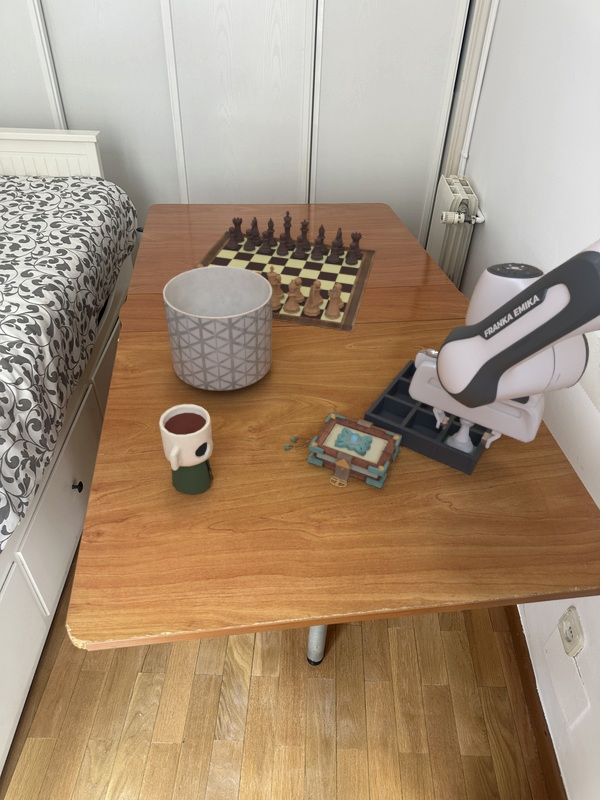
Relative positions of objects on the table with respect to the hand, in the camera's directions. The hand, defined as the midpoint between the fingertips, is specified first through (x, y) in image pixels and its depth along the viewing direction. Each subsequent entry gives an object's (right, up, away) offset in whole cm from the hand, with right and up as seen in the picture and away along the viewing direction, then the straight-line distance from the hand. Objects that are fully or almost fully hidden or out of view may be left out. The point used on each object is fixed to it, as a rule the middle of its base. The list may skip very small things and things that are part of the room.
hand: (462, 435), depth 88 cm
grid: (-2, +2, +9) cm, 10 cm away
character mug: (-43, -7, -4) cm, 44 cm away
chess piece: (0, -3, +2) cm, 4 cm away
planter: (-42, +11, +18) cm, 47 cm away
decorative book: (-20, -4, +1) cm, 21 cm away
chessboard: (-32, +38, +52) cm, 72 cm away
